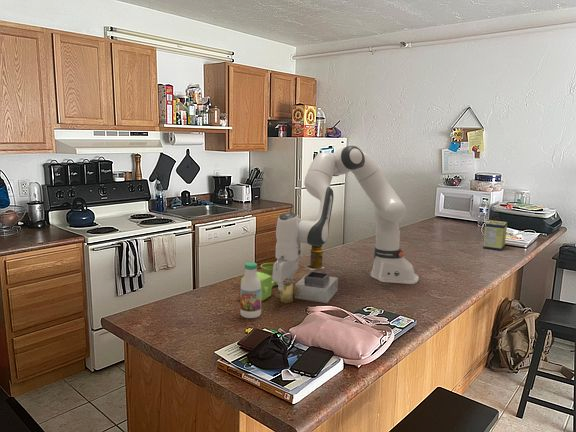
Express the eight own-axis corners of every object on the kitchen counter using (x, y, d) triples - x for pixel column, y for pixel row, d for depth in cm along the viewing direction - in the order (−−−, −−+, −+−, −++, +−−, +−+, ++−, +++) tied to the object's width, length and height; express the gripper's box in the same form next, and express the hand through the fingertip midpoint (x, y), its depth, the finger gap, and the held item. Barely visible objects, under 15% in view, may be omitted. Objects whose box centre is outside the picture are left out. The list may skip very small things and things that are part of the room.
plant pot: (284, 282, 208) (284, 264, 207) (276, 288, 200) (277, 269, 198) (265, 279, 211) (265, 261, 210) (257, 286, 203) (257, 267, 201)
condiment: (325, 268, 231) (326, 245, 229) (312, 270, 227) (312, 247, 225) (316, 264, 237) (317, 242, 235) (303, 266, 233) (304, 244, 231)
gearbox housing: (337, 290, 198) (338, 272, 197) (326, 303, 184) (327, 283, 182) (307, 286, 203) (307, 268, 202) (294, 298, 189) (295, 278, 187)
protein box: (504, 246, 284) (507, 221, 281) (501, 251, 271) (504, 225, 268) (487, 243, 290) (489, 219, 287) (482, 248, 277) (485, 223, 274)
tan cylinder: (294, 299, 187) (294, 282, 186) (290, 303, 183) (290, 285, 181) (283, 297, 189) (283, 280, 188) (278, 301, 184) (278, 284, 183)
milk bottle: (240, 310, 174) (240, 260, 171) (260, 310, 175) (261, 260, 171) (240, 319, 167) (240, 266, 163) (261, 318, 167) (261, 266, 164)
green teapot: (252, 309, 178) (253, 286, 176) (233, 302, 183) (233, 280, 181) (278, 295, 193) (279, 274, 190) (259, 289, 198) (260, 268, 195)
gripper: (283, 261, 172) (282, 295, 174) (302, 248, 190) (301, 280, 193) (268, 258, 174) (267, 293, 177) (288, 247, 193) (287, 278, 195)
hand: (285, 286), depth 185 cm, fingers open, 8 cm apart
